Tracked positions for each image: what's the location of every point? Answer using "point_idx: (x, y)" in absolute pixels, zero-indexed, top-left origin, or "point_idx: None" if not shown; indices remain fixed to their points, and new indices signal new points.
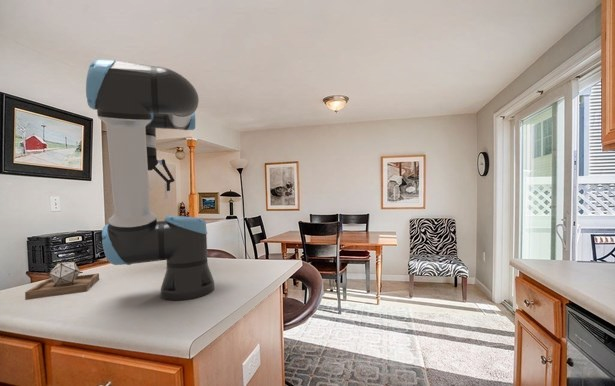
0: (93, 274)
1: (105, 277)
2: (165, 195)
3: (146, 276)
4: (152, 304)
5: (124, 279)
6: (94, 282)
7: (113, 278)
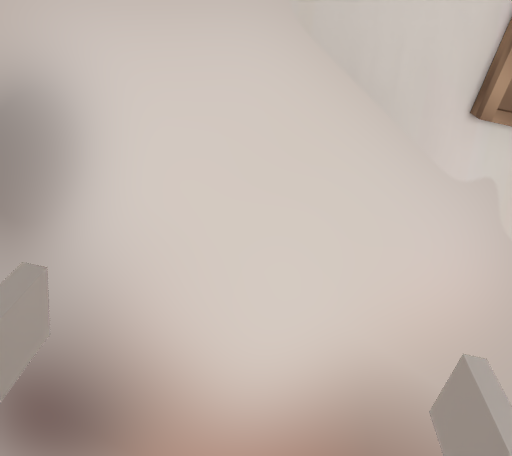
0: (501, 112)
1: (443, 132)
2: (10, 297)
3: (304, 13)
4: None
5: (390, 27)
6: (504, 39)
7: (422, 86)
